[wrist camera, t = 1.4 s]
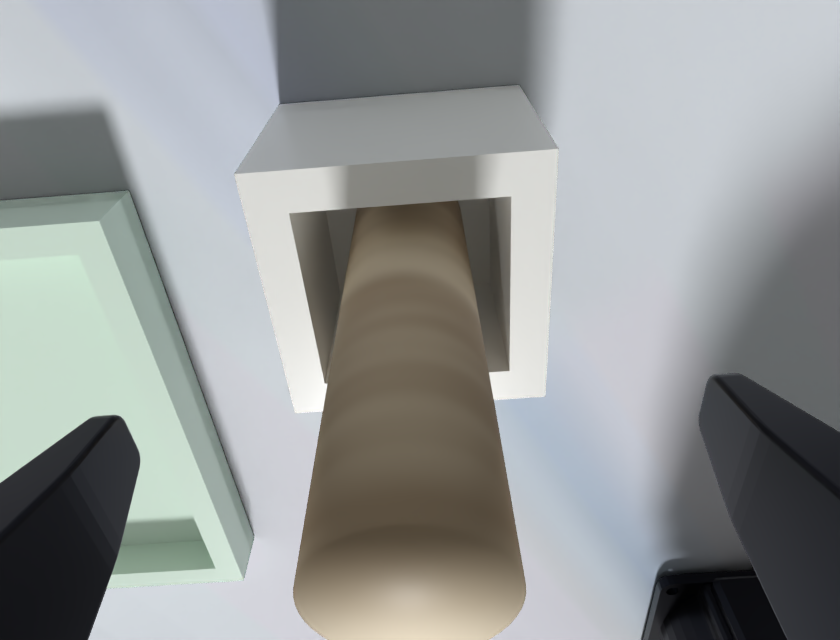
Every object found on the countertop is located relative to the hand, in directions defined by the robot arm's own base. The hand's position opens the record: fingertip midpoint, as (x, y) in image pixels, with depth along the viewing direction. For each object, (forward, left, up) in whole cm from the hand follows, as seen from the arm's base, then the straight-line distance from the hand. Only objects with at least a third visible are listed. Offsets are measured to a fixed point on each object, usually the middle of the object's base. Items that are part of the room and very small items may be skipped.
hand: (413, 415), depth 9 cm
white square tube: (0, 0, -8) cm, 8 cm away
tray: (-6, +12, -8) cm, 16 cm away
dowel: (0, 0, -7) cm, 7 cm away
